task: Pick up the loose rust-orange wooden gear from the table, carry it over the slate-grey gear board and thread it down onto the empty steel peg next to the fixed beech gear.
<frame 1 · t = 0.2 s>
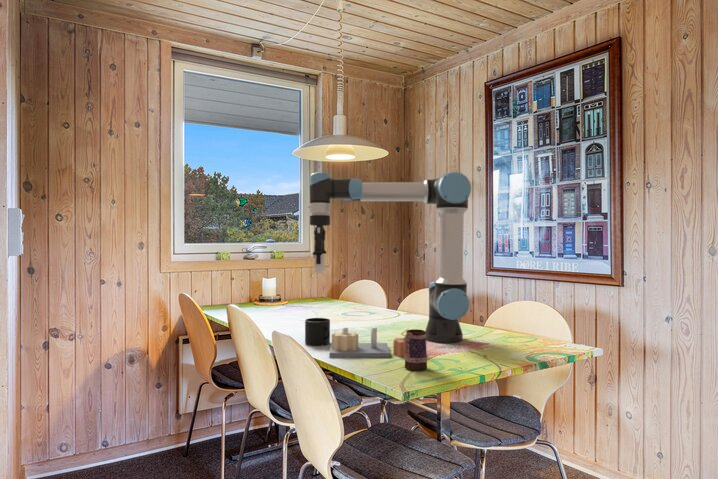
hand: (319, 272, 186), 28 cm above the table, fingers open, 13 cm apart
gear board: (359, 352, 177), on the table
mug 2: (413, 370, 154), on the table
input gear: (407, 354, 174), on the table
mug: (319, 344, 191), on the table
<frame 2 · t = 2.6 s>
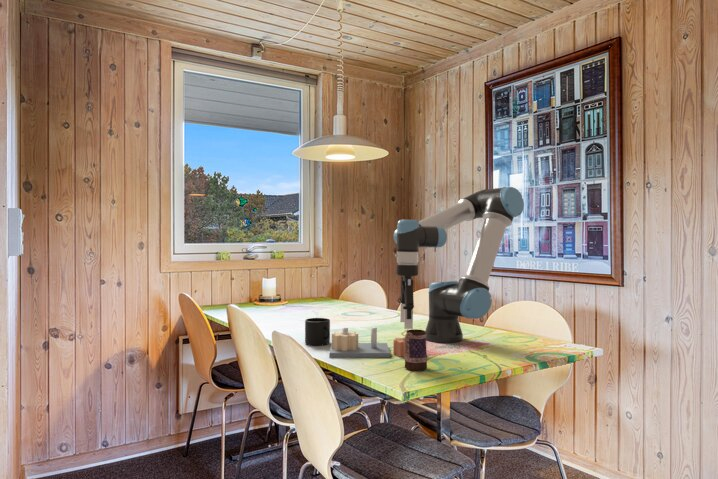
hand: (406, 325, 174), 10 cm above the table, fingers open, 13 cm apart
nothing on the table moved.
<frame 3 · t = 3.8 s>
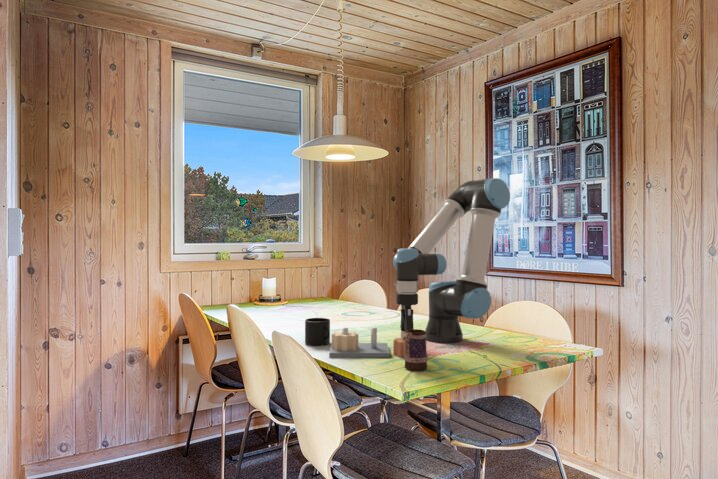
hand: (406, 354, 174), 0 cm above the table, fingers open, 13 cm apart
nothing on the table moved.
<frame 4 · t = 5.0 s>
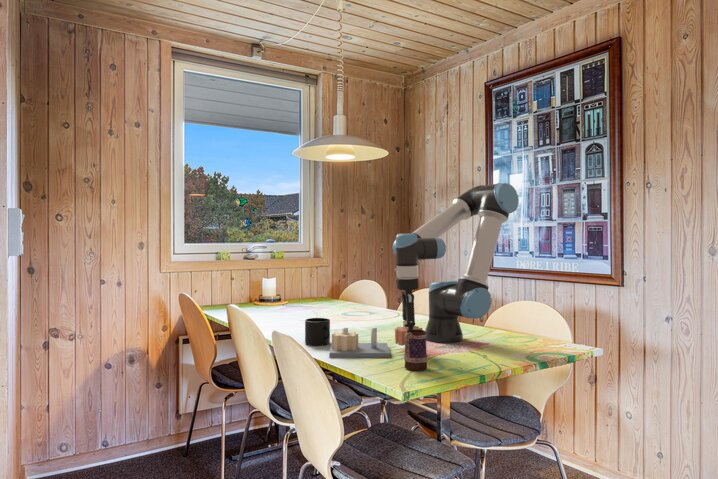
hand: (408, 341, 175), 4 cm above the table, fingers closed on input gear, 9 cm apart
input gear: (408, 342, 175), point 4 cm above the table, touching gripper
everything else where it was.
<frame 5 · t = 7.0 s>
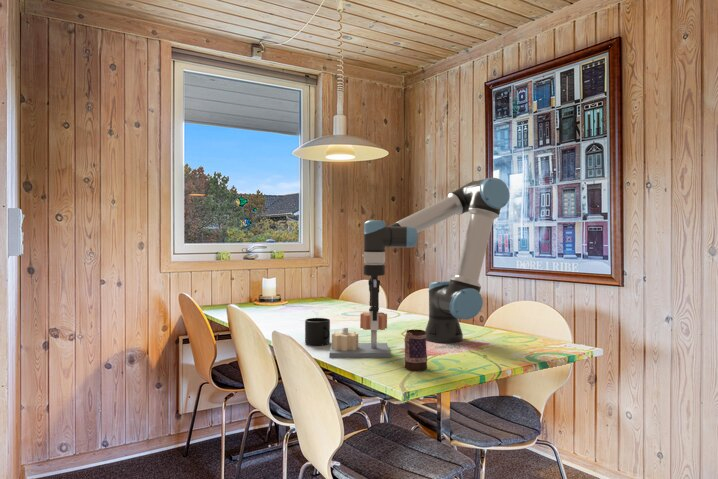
hand: (373, 327, 177), 9 cm above the table, fingers closed on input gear, 9 cm apart
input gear: (373, 328, 177), point 9 cm above the table, touching gripper
everything else where it was.
when the fingers open (2 cm above the table, at t = 9.0 s): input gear stays where it is, resting on gear board.
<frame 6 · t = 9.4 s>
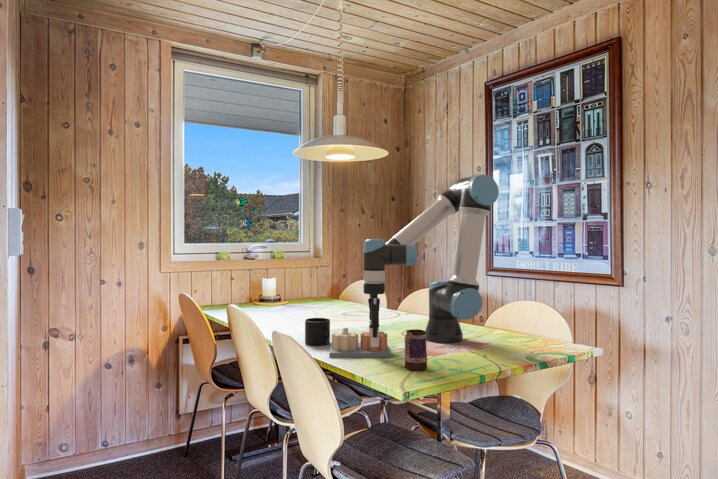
hand: (373, 342, 177), 3 cm above the table, fingers open, 13 cm apart
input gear: (373, 347, 177), point 1 cm above the table, touching gear board
everything else where it was.
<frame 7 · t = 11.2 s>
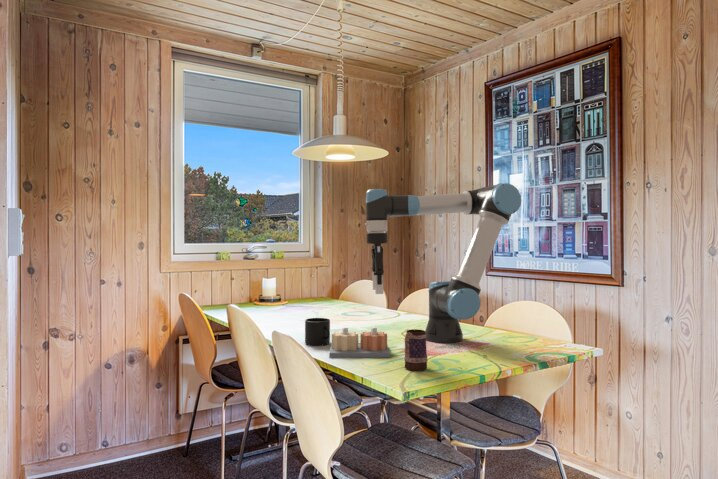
hand: (377, 291, 180), 21 cm above the table, fingers open, 13 cm apart
nothing on the table moved.
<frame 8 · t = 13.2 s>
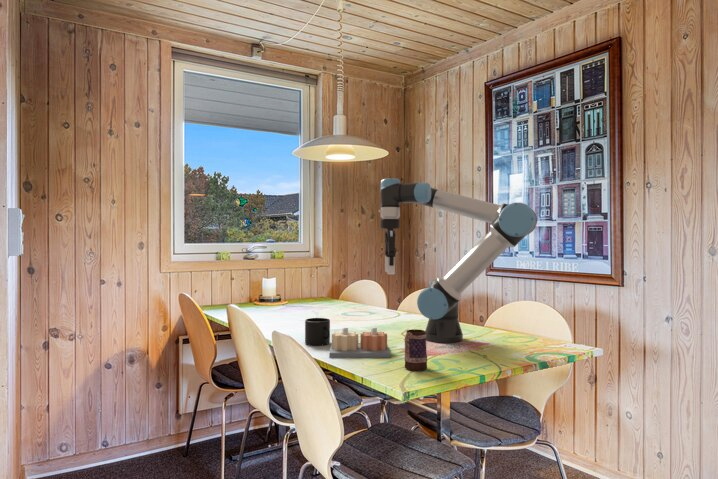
hand: (389, 273, 195), 27 cm above the table, fingers open, 13 cm apart
nothing on the table moved.
at the end: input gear 0.0 cm from the target spot on the gear board, point 1.5 cm above the gear board's base; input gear tilted 0°; the gripper is holding nothing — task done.
